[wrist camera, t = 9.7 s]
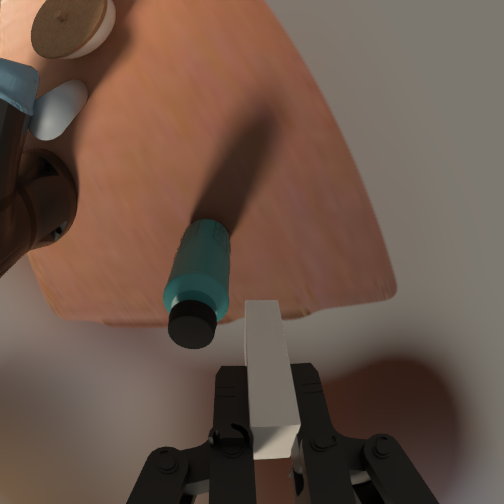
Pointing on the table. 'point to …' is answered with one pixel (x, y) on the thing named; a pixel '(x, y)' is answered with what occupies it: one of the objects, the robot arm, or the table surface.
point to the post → (57, 109)
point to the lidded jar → (71, 27)
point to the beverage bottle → (198, 284)
